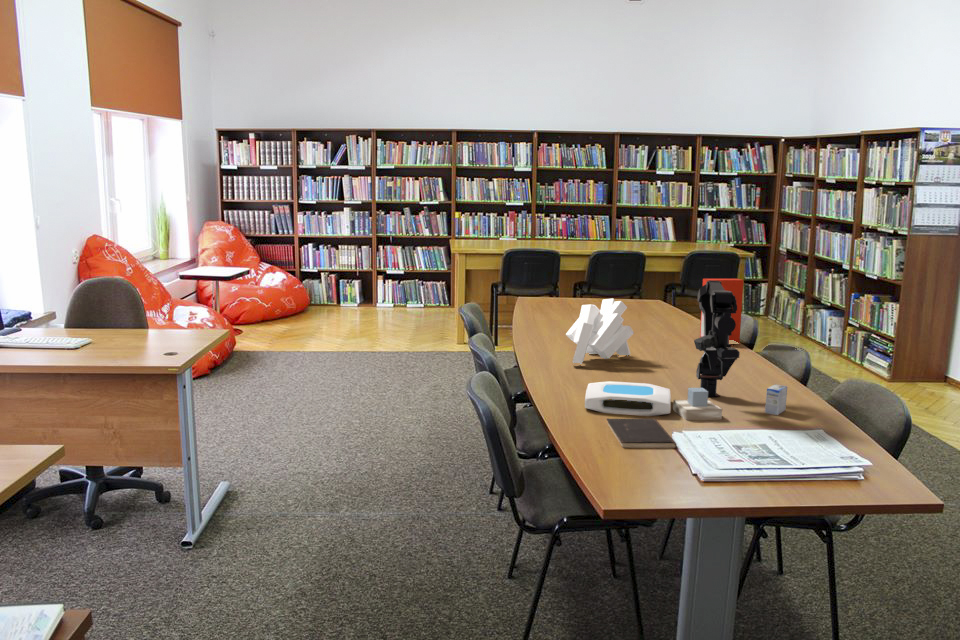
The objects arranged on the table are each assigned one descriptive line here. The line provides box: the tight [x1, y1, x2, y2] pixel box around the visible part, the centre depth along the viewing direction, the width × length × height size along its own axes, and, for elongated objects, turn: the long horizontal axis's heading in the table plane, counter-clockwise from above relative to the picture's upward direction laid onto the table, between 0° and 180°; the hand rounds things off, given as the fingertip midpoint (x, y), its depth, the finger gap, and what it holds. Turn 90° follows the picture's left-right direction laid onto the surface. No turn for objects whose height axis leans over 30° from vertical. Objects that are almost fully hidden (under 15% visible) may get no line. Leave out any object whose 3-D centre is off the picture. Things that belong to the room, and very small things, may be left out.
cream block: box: [672, 399, 723, 421], centre depth 252 cm, size 12×12×4 cm
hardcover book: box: [606, 418, 677, 449], centre depth 230 cm, size 16×23×2 cm
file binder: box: [699, 278, 744, 344], centre depth 373 cm, size 8×17×32 cm, turn 95°
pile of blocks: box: [565, 297, 635, 365], centre depth 333 cm, size 35×30×35 cm
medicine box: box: [764, 383, 788, 416], centre depth 256 cm, size 8×4×9 cm, turn 141°
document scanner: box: [584, 381, 672, 417], centre depth 262 cm, size 21×28×6 cm
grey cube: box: [687, 387, 709, 406], centre depth 252 cm, size 5×5×5 cm
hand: (717, 373), depth 260 cm, fingers open, 9 cm apart
